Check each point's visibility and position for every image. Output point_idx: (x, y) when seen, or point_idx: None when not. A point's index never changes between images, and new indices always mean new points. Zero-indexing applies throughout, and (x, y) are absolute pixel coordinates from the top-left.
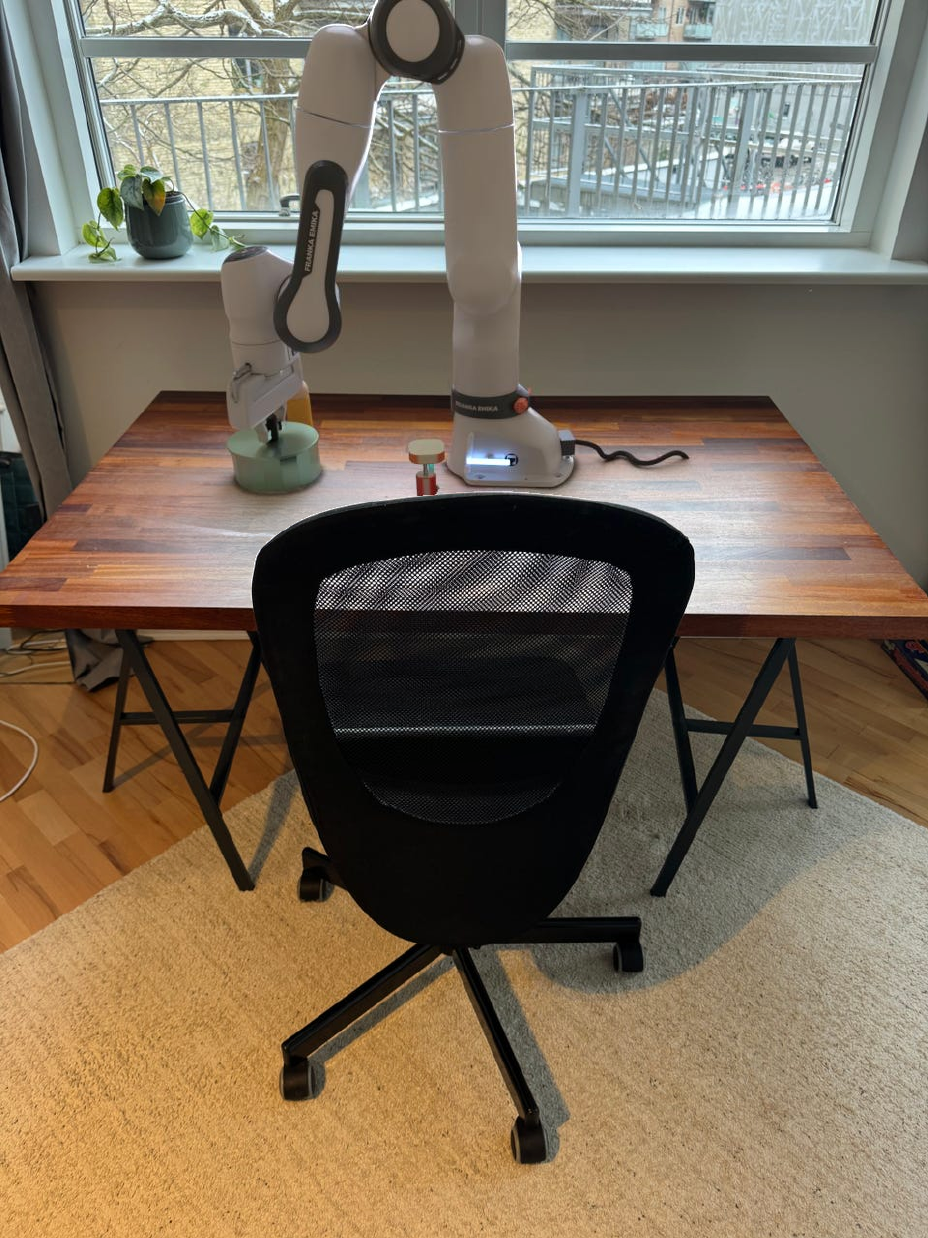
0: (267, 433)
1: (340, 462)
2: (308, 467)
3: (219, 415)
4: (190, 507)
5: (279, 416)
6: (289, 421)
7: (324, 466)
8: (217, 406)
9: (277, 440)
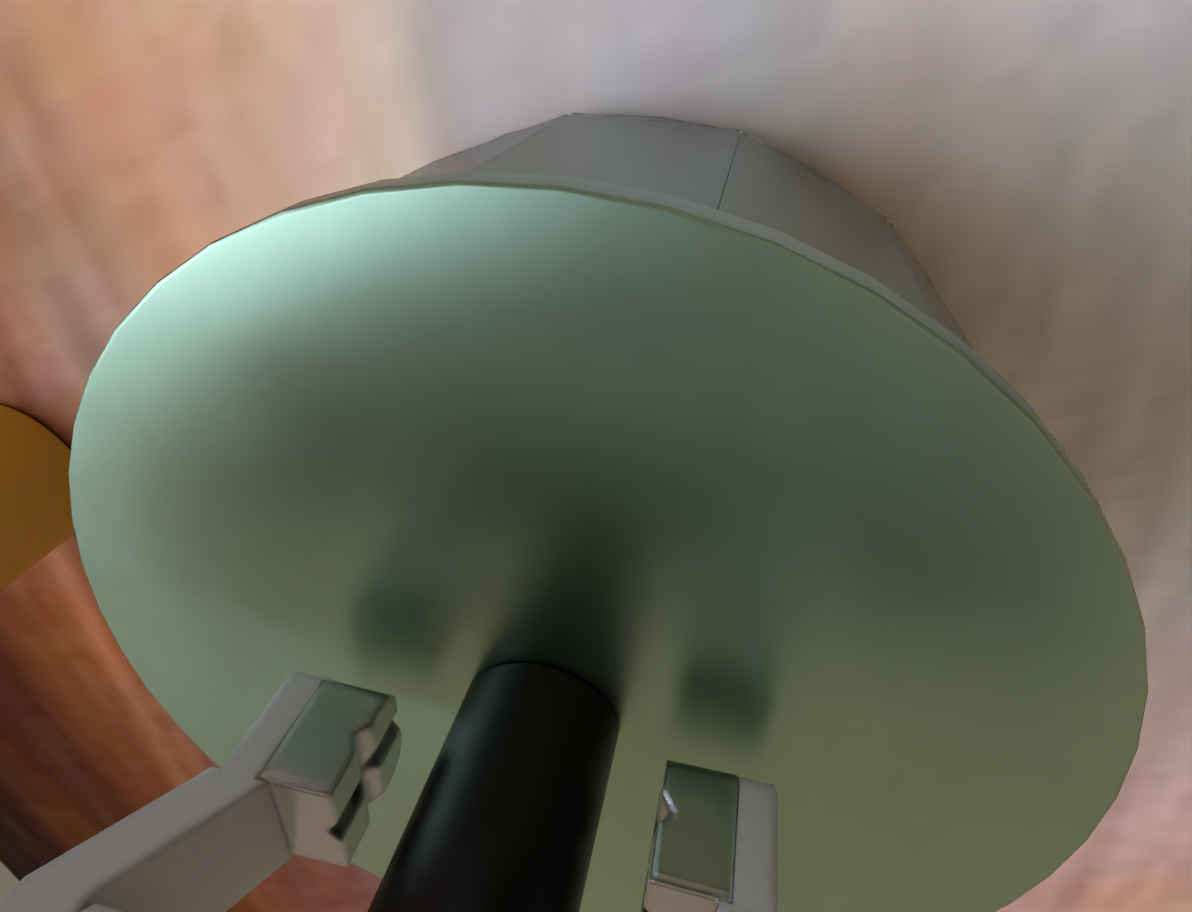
0: (757, 894)
1: (239, 14)
2: (771, 190)
3: (107, 805)
4: (1114, 819)
5: (249, 839)
6: (1, 584)
7: (367, 151)
8: (50, 816)
9: (576, 671)
